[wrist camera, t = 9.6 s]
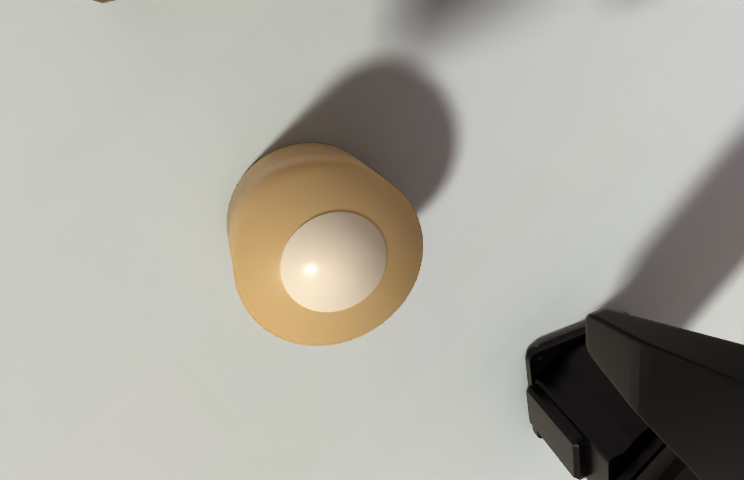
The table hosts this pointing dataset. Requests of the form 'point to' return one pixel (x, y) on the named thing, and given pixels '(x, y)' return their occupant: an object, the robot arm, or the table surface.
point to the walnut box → (103, 1)
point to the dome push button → (321, 245)
